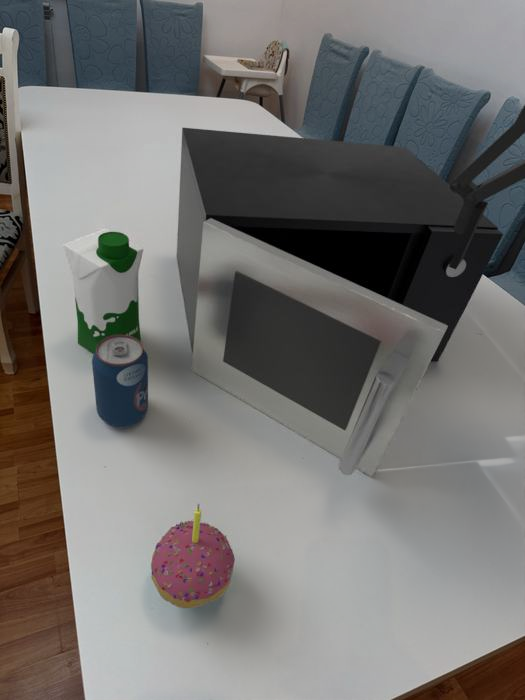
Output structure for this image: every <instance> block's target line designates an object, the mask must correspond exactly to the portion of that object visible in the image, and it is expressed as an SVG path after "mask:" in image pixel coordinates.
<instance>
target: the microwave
mask: <svg viewBox="0 0 525 700" xmlns="http://www.w3.org/2000/svg"><path fill="white" fill-rule="evenodd" d="M180 149H181V150H180V168H179V169H180V170H179V172H180V173H179V196H178V214H177V215H178V217H177V236H176V237H177V239H176V262H177V267H178V273H179V274H178V275H179V282H180V287H181V292H182V300H183V306H184V312H185V319H186V325H187V331H188V337H189V338H188V339H189V343H190V350H191V356H192V357H193V345H194V332H195V320H196V307H197V295H198V283H199V270H200V258H201V245H202V233H203V222H204V221H206V220H208V219H210V218H212V219H214V220H216V221H218V222H221V223H223V224H225V225H227V226H229V227H232V228H234V229H236V230H238V231H240V232H243V233H245V234H247V235H249V236H251V237H254V238H256V239H258V240H260V241H262V242H265V243H267V244H269V245H271V246H273V247H276V248H278V249H280V250H282V251H284V252H287V253H289V254H291V255H293V256H295V257H298V258H300V259H302V260H304V261H307V262H309V263H311V264H313V265H315V266H318V267H320V268H322V269H324V270H326V271H329V272H331V273H333V274H335V275H337V276H340V277H342V278H344V279H346V280H348V281H351V282H353V283H355V284H357V285H359V286H362V287H364V288H366V289H368V290H370V291H373V292H375V293H377V294H379V295H381V296H384V297H386V298H388V299H390V300H392V301H395V302H397V303H399V304H401V305H403V306H406V307H408V308H410V309H412V310H414V311H417V312H419V313H421V314H423V315H425V316H428V317H430V318H432V319H434V320H436V321H439V322H441V323H443V324H445V325H447V326H448V327H447V329H446V331H445V333H444V335H443V337H442V339H441V341H440V343H439V345H438V347H437V349H436V351H435V353H434V355H433V357H432V359H431V361H430V363H432V362H433V363H434V362H435V363H436V362H439V361H440V359H441V357H442V354H443V353H444V351H445V349H446V347H447V345H448V343H449V341H450V339H451V337H452V335H453V333H455V330H456V327H457V325H458V324H459V322H460V320H461V318H462V315H463V314H464V312H465V310H466V309H467V306H468V304H469V302H470V301H471V298H472V297H473V295H474V293H475V291H476V289H477V287H478V285H479V283H480V281H481V279H482V277H483V276H484V273H485V271H486V269H487V267H488V265H489V263H490V261H491V259H492V258H493V256H494V254H495V252H496V250H497V248H498V247H499V244H500V242H501V240H502V238H503V236H504V233H503V232H502V231H501V230H500V229H499V227H498V226H497V225H496V224H495V223H494V222H493V221H491V220H490V219H489V218H488V217H487V216H485V215H484V214H483V216H482V218H481V220H480V222H479V224H478V227H477V229H476V231H475V233H474V235H473V238H472V240H471V242H470V244H469V246H468V249H467V251H466V253H465V255H464V257H463V260H462V261H461V263H460V264H459V265H458V267H457V268H456V269H453V268H451V267H449V265H450V263H451V260H452V258H453V256H454V254H455V251H456V249H457V247H458V244H459V242H460V240H461V238H462V235H460V234H458V233H455V232H454V225H455V223H456V221H457V218H458V216H459V214H460V211H461V209H462V206H463V203H464V201H463V198H462V197H461V196H460V195H459V194H458V193H454V192H452V191H451V189H450V183H448V182H447V181H446V180H444V179H443V178H442V176H440V175H439V174H438V173H437V172H435V171H434V170H433V169H432V168H431V167H429V166H428V165H427V164H426V163H425V162H424V161H423V160H422V159H420V158H419V157H418V156H417V155H416V154H414V152H413V151H411V150H410V149H409V148H408V147H406V146H398V145H397V146H396V145H387V144H386V145H385V144H374V143H373V144H372V143H364V142H363V143H362V142H349V141H341V140H340V141H339V140H328V139H317V138H305V137H295V136H285V135H284V136H283V135H282V136H281V135H272V134H261V133H250V132H239V131H238V132H237V131H227V130H215V129H204V128H194V127H182V128H181V147H180Z"/></svg>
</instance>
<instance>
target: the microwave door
mask: <svg viewBox="0 0 525 700" xmlns="http://www.w3.org/2000/svg"><path fill="white" fill-rule="evenodd" d="M447 327H448V326H447V325H445V324H443V323H441V322H439V321H436V320H434V319H432V318H430V317H428V316H425V315H423V314H421V313H419V312H417V311H414V310H412V309H410V308H408V307H406V306H403V305H401V304H399V303H397V302H395V301H392V300H390V299H388V298H386V297H384V296H381V295H379V294H377V293H375V292H373V291H370V290H368V289H366V288H364V287H362V286H359V285H357V284H355V283H353V282H351V281H348V280H346V279H344V278H342V277H340V276H337V275H335V274H333V273H331V272H329V271H326V270H324V269H322V268H320V267H318V266H315V265H313V264H311V263H309V262H307V261H304V260H302V259H300V258H298V257H295V256H293V255H291V254H289V253H287V252H284V251H282V250H280V249H278V248H276V247H273V246H271V245H269V244H267V243H265V242H262V241H260V240H258V239H256V238H254V237H251V236H249V235H247V234H245V233H243V232H240V231H238V230H236V229H234V228H232V227H229V226H227V225H225V224H223V223H221V222H218V221H216V220H214V219H212V218H210V219H208V220H206V221H204V222H203V233H202V245H201V258H200V270H199V283H198V295H197V307H196V320H195V332H194V345H193V357H192V359H191V372H192V373H195V374H197V375H198V376H200V377H201V378H203V379H205V380H207V381H208V382H210V383H211V384H212V385H215V386H217V387H218V388H220V389H221V390H224V391H225V392H227V393H228V394H230V395H232V396H233V397H235V398H237V399H239V400H240V401H242V402H244V403H245V404H247V405H249V406H250V407H252V408H254V409H256V410H257V411H258V412H261V413H262V414H264V415H266V416H267V417H269V418H270V419H272V420H274V421H276V422H277V423H279V424H281V425H283V426H284V427H286V428H287V429H289V430H291V431H292V432H295V433H296V434H298V435H300V437H303V438H305V439H307V440H308V441H310V442H311V443H313V444H314V445H317V446H318V447H320V448H321V449H323V450H325V451H327V452H328V453H331V455H333V456H335V457H337V458H338V459H340V461H339V463H338V467H337V468H338V470H339V472H340V473H341V474H343V475H345V476H351V475H353V474H354V472H355V471H356V470H358V471H361V472H362V473H363V474H366V475H367V476H369V477H370V478H373V476H374V474H375V473H376V471H377V469H378V467H379V465H380V464H381V461H382V459H383V457H384V455H385V453H386V451H387V449H388V447H389V445H390V444H391V441H392V439H393V437H394V435H395V433H396V431H397V429H398V428H399V425H400V423H401V421H402V419H403V417H404V415H405V414H406V411H407V409H408V407H409V405H410V403H411V401H412V399H413V397H414V395H415V393H416V391H417V389H418V387H419V385H420V383H421V381H422V380H423V378H424V375H425V373H426V371H427V369H428V367H429V365H430V363H431V362H430V361H431V359H432V357H433V355H434V353H435V351H436V349H437V347H438V345H439V343H440V341H441V339H442V337H443V335H444V333H445V331H446V329H447Z"/></svg>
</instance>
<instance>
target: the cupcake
mask: <svg viewBox="0 0 525 700" xmlns="http://www.w3.org/2000/svg"><path fill="white" fill-rule="evenodd" d="M200 507H201V506H200V503H197V507H196V508H195V510H194V512H193V513H194V514H193V520H188V521H179V523H176V525H175V526H171V527H170V529H169V530H167V531H166V532H165V534H164V535H162V537H161V539H159V542H157V543H156V546H155V547H154V548H155V549H154V551H153V553H152V557H151V563H150V568H151V577H150V578H151V580H152V583H153V585H154V586H155V588H156V590H157V592H158V593H159V596H160V597H161V598H162V599H163V600H164V601H166V602H168V603H170V604H172V605H174V606H176V607H177V608H179V609H193V608H197V607H201V606H204V605H205V604H208V603H210V602H214V601H216V600H218V599H219V598H221V596H222V595H223V594H224V593H225V592H226V591H227V589H228V588H229V585H230V583H231V580H232V575H233V573H234V567H235V563H236V562H235V561H236V558H235V554H234V551H233V549H232V547H231V544H230V542H229V540H228V538H227V535H225V534H224V533H222V532H221V531H220V530H219V528H217V527H215V526H213V525H210V524H209V523H208V522H201V521H202V520H201V519H202V509H200Z"/></svg>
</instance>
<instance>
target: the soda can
mask: <svg viewBox="0 0 525 700" xmlns="http://www.w3.org/2000/svg"><path fill="white" fill-rule="evenodd" d="M91 364H92V365H91V366H92V367H91V368H92V376H93V387H94V397H95V409H96V413H97V415H98V417H99V418H100V419H101V420H102V421H103V422H104V423H106V424H107V425H109V426H111V427H114V428H121V429H123V428H129V427H132V426H134V425H136V424H138V423H139V422H140V421H141V420H142V419H143V418H144V417H145V415H146V414H147V412H148V409H149V357H148V354H147V351H146V350H145V349H144V345H143V343H142V341H141V342H140V341H139V340H138V339H136V338H134V337H132V336H128V335H113V336H109V337H107V338H105V339H103V340H102V341H100V342H99V344H98V345H97V347H96V351H95V353H94V354H93V355H92V358H91Z"/></svg>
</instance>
